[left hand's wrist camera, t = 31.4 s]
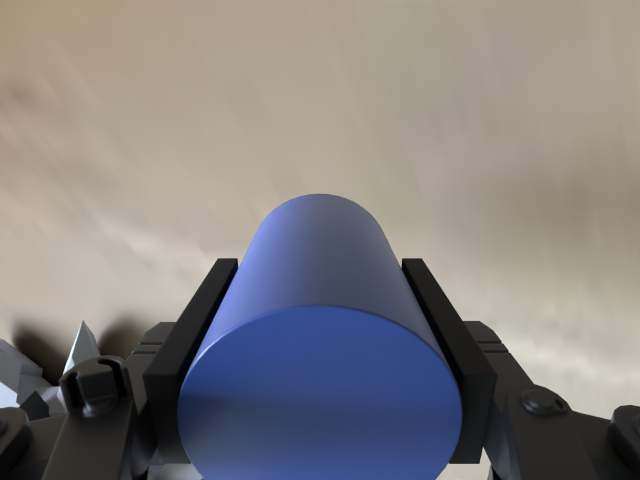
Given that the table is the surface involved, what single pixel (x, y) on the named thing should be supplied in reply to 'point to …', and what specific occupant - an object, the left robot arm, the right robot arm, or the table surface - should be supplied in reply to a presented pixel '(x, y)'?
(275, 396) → the canister
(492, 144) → the table surface
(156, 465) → the decorative piece
